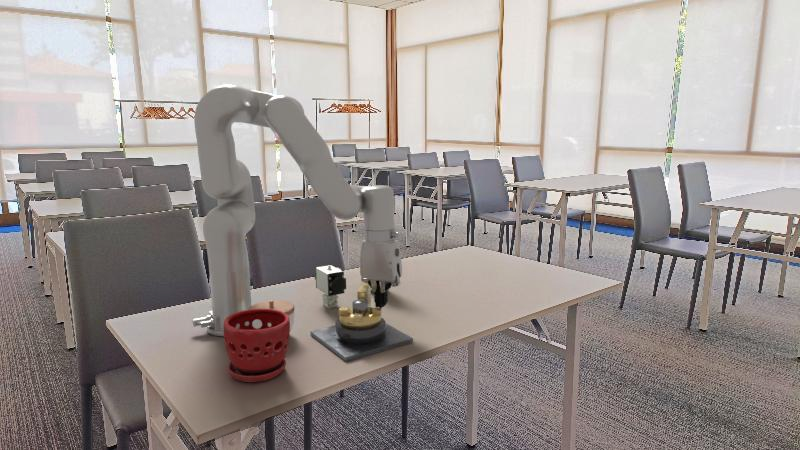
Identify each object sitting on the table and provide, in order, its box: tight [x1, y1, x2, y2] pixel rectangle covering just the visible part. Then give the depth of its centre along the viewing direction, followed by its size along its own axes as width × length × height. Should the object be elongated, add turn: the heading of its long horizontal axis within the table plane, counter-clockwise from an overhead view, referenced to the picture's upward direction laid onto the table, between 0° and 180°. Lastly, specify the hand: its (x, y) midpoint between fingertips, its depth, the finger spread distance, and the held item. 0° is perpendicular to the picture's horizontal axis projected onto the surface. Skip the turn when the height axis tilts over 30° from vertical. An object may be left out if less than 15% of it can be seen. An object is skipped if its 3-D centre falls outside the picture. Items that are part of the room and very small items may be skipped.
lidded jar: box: [249, 299, 295, 332], centre depth 126 cm, size 11×11×9 cm
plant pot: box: [223, 309, 291, 383], centre depth 107 cm, size 13×13×12 cm
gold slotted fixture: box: [338, 282, 383, 330], centre depth 127 cm, size 17×10×6 cm, turn 177°
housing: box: [310, 317, 414, 362], centre depth 125 cm, size 18×18×4 cm
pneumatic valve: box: [314, 264, 347, 310], centre depth 147 cm, size 6×12×12 cm, turn 32°
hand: (381, 305), depth 132 cm, fingers closed
